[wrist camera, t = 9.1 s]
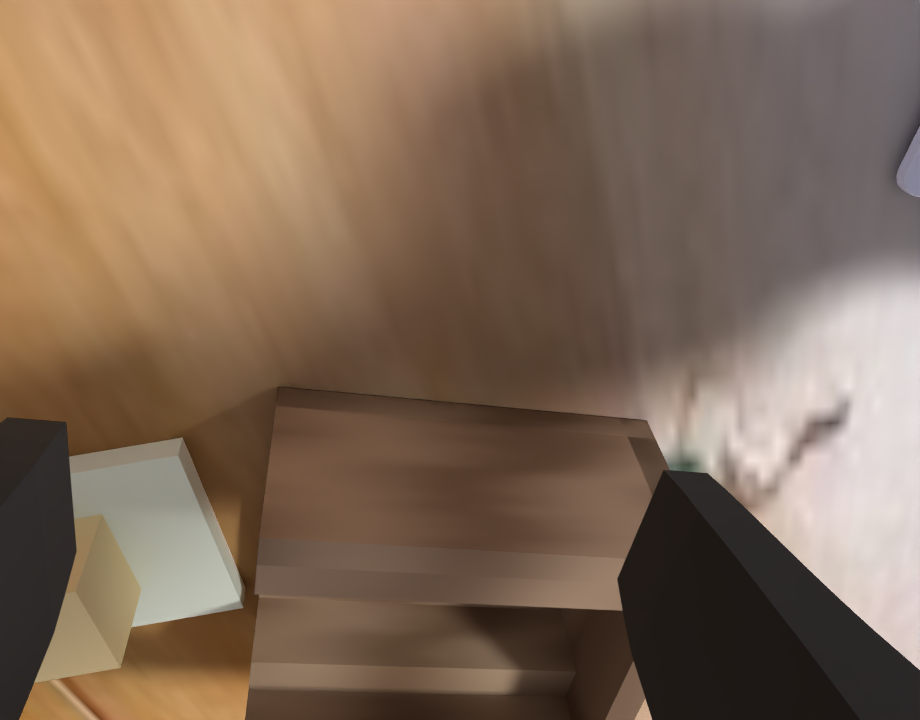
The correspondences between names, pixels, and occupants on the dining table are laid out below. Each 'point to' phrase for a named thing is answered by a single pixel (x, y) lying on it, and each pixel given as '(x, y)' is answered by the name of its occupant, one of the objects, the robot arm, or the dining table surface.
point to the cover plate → (137, 555)
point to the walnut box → (446, 561)
